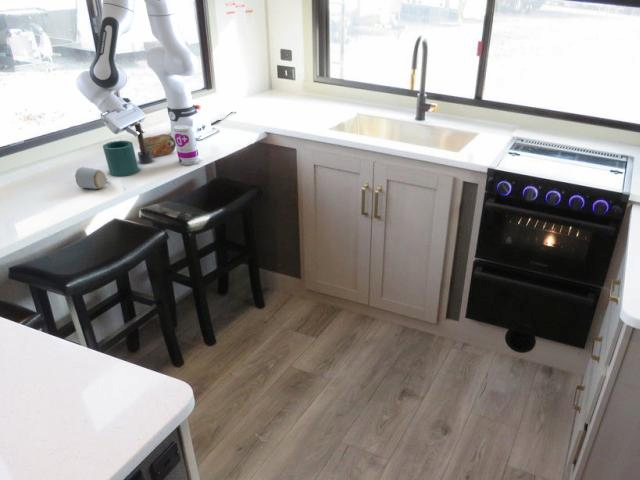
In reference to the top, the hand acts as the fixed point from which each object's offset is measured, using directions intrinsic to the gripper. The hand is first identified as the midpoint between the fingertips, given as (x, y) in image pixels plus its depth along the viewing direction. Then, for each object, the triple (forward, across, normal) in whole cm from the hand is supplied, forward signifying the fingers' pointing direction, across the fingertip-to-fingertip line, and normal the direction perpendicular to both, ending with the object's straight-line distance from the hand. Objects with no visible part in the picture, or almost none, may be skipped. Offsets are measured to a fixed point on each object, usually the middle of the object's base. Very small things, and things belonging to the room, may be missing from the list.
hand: (141, 133), depth 237 cm
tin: (+9, +9, +8) cm, 15 cm away
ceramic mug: (+6, -30, +11) cm, 32 cm away
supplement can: (+21, +4, -4) cm, 21 cm away
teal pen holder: (+7, -12, +10) cm, 17 cm away
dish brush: (+8, 0, +9) cm, 12 cm away
